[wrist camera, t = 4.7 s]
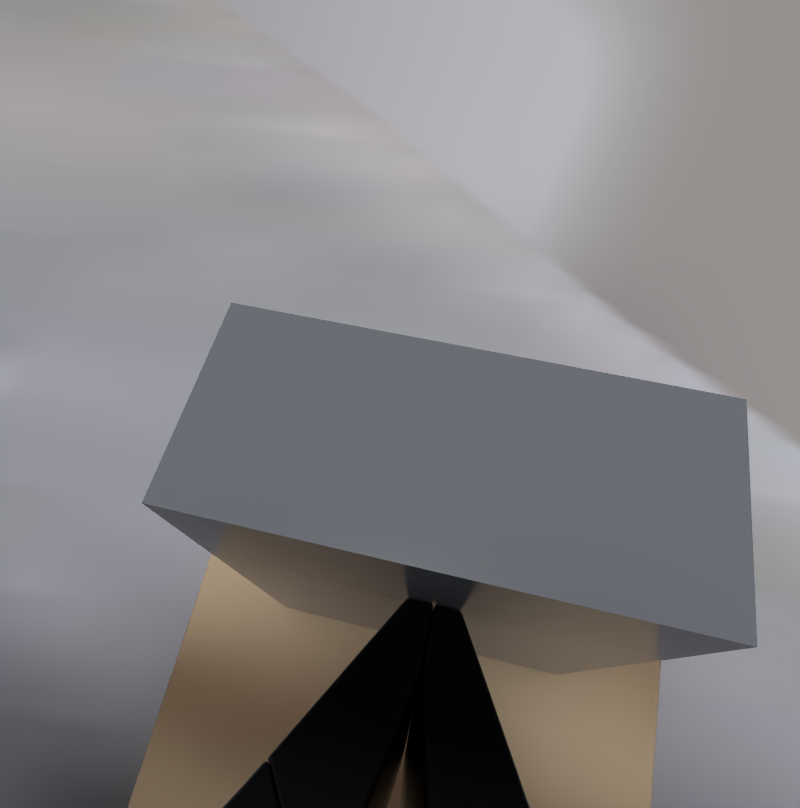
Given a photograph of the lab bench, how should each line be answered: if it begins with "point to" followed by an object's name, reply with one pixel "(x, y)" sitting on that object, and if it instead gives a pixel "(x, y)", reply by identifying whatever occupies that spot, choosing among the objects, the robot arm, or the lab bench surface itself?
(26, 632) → the lab bench surface
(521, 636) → the thick grey slab block
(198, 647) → the cork mat
